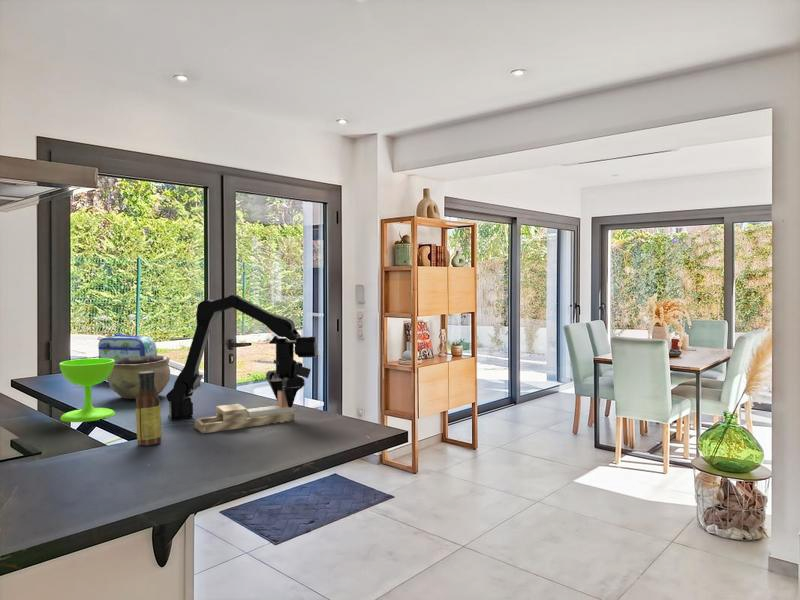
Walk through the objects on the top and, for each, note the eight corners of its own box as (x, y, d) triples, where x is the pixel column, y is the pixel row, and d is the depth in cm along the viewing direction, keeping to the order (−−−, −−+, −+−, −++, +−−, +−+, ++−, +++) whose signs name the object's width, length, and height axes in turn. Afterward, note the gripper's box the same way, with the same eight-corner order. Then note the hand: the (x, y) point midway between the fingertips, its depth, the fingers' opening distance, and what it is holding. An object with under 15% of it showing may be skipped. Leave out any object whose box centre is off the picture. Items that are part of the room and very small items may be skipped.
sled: (249, 420, 178) (249, 396, 178) (244, 418, 182) (244, 393, 181) (292, 415, 186) (292, 391, 186) (287, 412, 190) (287, 389, 189)
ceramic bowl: (176, 400, 214) (176, 360, 213) (112, 407, 202) (111, 364, 201) (163, 390, 232) (163, 353, 232) (103, 396, 220) (103, 357, 220)
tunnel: (201, 433, 168) (201, 414, 168) (194, 427, 175) (194, 408, 175) (294, 420, 184) (294, 403, 184) (284, 415, 191) (284, 398, 191)
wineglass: (110, 420, 183) (109, 364, 182) (53, 423, 178) (52, 366, 178) (119, 409, 198) (119, 357, 198) (67, 412, 194) (66, 359, 193)
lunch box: (94, 382, 249) (93, 334, 248) (114, 378, 259) (114, 332, 258) (140, 386, 240) (140, 337, 239) (159, 382, 250) (159, 334, 249)
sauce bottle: (166, 441, 159) (166, 370, 159) (150, 447, 154) (149, 374, 153) (147, 439, 162) (147, 369, 161) (130, 445, 156) (130, 372, 155)
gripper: (319, 358, 183) (319, 407, 183) (296, 352, 198) (296, 397, 199) (286, 361, 177) (286, 411, 177) (265, 354, 192) (265, 400, 193)
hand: (284, 404), depth 187 cm, fingers open, 9 cm apart
